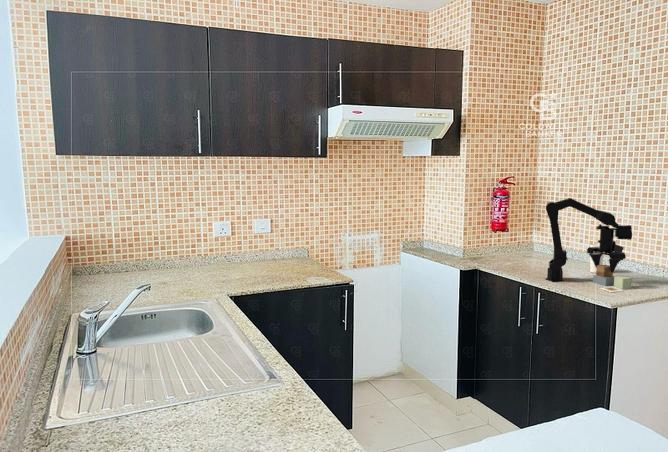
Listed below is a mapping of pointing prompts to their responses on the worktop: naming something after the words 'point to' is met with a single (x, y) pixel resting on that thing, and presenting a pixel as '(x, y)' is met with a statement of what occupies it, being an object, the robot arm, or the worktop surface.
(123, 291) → the worktop surface
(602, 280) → the slate base block
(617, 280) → the sage block
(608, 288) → the card
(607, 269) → the walnut block
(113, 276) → the worktop surface
